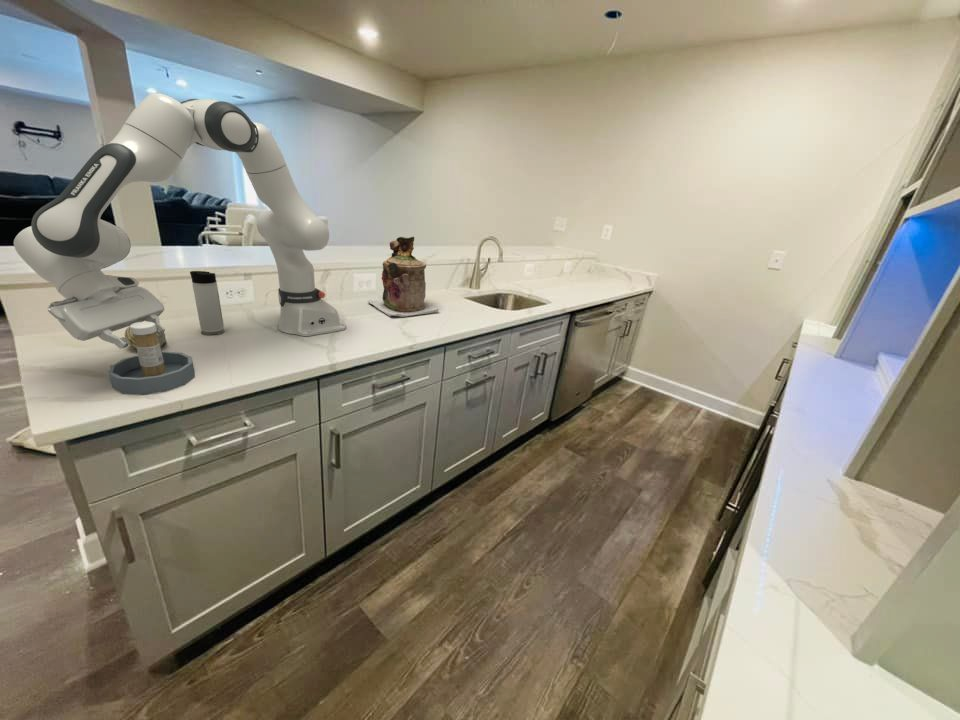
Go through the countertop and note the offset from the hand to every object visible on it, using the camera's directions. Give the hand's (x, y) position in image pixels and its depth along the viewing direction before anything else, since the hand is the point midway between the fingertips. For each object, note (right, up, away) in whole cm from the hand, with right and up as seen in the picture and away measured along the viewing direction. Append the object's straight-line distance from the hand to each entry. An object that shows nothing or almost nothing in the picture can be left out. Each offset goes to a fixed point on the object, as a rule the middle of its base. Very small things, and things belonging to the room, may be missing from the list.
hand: (144, 339), depth 91 cm
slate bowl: (-1, -10, +4) cm, 11 cm away
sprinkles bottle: (-1, -9, +4) cm, 10 cm away
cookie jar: (+45, +18, +82) cm, 95 cm away
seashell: (-16, -1, +20) cm, 26 cm away
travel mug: (-8, +4, +34) cm, 35 cm away
